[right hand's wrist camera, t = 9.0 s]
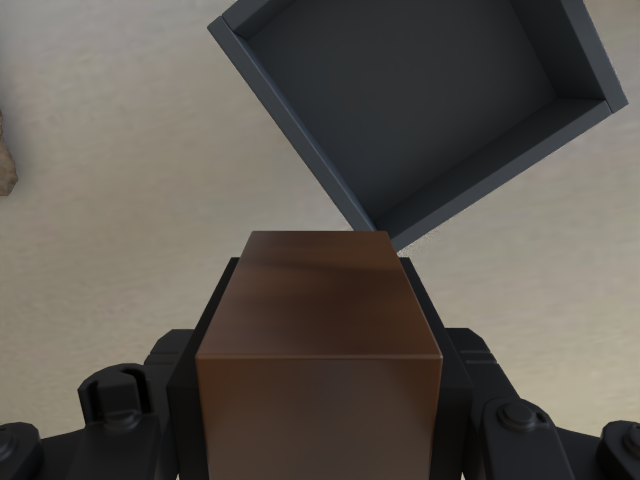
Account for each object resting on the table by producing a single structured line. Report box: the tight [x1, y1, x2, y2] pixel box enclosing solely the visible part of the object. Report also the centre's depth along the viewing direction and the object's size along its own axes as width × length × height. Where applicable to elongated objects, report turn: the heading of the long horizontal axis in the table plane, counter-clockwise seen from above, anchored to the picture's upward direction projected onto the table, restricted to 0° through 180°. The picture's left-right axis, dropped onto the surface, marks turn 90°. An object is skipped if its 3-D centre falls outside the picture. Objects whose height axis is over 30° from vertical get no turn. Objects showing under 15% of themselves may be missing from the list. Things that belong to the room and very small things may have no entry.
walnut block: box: [195, 231, 443, 480], centre depth 12 cm, size 4×4×7 cm
